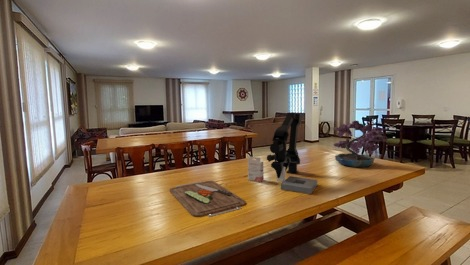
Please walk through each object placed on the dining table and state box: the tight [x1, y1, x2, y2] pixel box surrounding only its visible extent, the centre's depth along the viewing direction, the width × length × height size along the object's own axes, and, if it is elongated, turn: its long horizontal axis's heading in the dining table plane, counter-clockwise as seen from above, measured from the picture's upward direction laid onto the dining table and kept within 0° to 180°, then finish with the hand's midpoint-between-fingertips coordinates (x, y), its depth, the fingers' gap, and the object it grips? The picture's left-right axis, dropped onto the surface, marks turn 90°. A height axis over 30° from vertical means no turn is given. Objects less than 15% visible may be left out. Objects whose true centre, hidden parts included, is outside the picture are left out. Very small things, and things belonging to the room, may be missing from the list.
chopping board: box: [168, 180, 247, 218], centre depth 129 cm, size 45×27×3 cm, turn 30°
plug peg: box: [276, 167, 286, 183], centre depth 152 cm, size 4×4×8 cm
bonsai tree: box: [333, 120, 388, 168], centre depth 183 cm, size 35×27×33 cm
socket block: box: [280, 175, 318, 195], centre depth 140 cm, size 16×16×3 cm
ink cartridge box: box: [247, 156, 265, 183], centre depth 153 cm, size 9×5×15 cm, turn 62°
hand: (281, 175), depth 152 cm, fingers open, 9 cm apart
